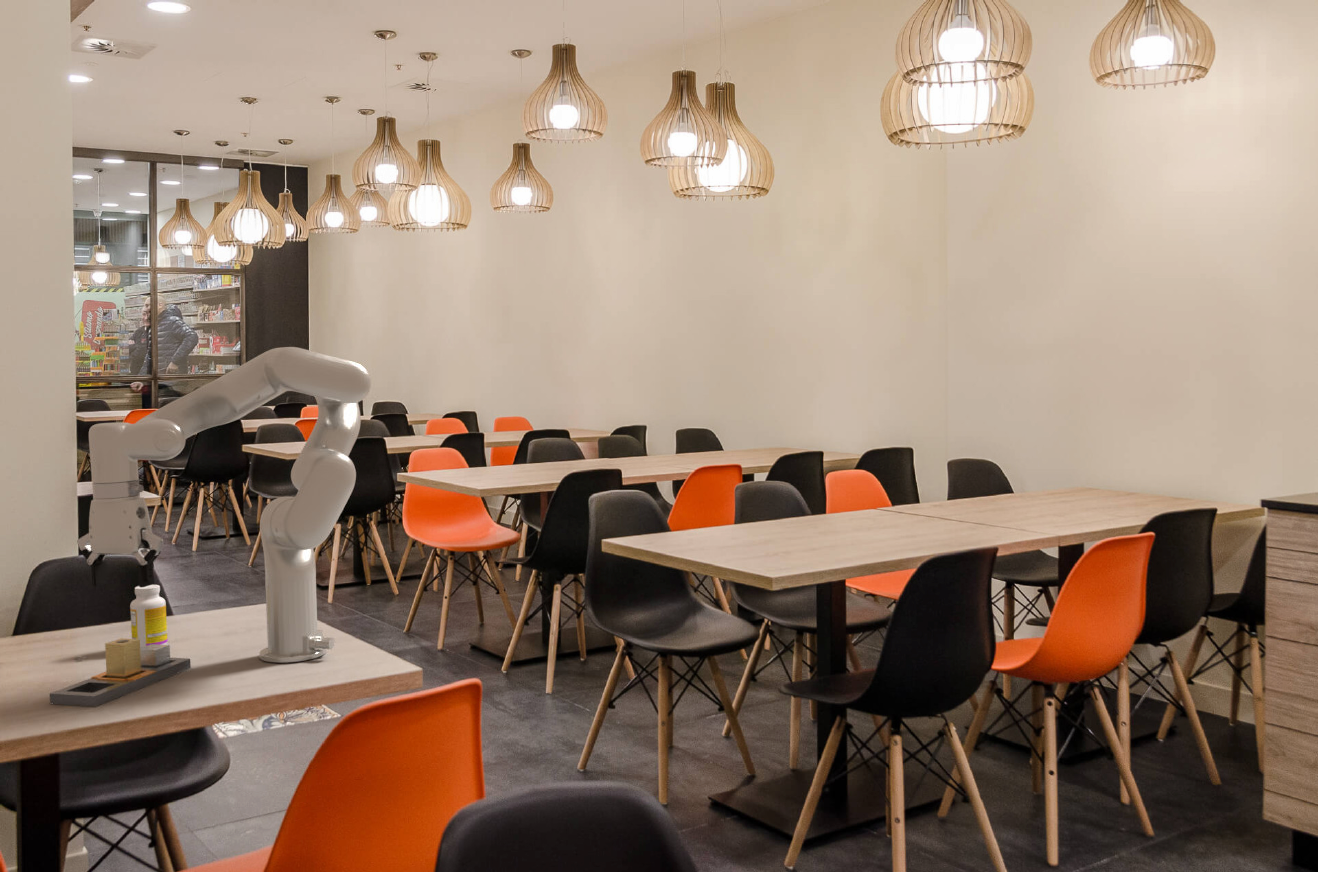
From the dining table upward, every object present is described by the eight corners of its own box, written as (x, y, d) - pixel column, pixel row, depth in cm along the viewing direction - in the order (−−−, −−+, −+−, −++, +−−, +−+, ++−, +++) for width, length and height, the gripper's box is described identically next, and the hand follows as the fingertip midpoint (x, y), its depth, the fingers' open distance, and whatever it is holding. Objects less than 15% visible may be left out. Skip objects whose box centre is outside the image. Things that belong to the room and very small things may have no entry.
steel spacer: (170, 671, 207) (169, 645, 207) (156, 676, 203) (155, 650, 203) (152, 669, 208) (151, 644, 208) (137, 675, 204) (136, 649, 204)
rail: (190, 667, 209) (190, 657, 209) (94, 706, 185) (94, 694, 185) (150, 665, 211) (149, 655, 211) (50, 703, 187) (49, 692, 187)
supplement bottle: (174, 644, 228) (171, 583, 227) (156, 652, 221) (154, 589, 221) (143, 644, 229) (141, 583, 228) (125, 652, 222) (122, 589, 221)
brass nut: (141, 682, 199) (139, 639, 199) (125, 688, 195) (123, 644, 195) (123, 681, 200) (121, 638, 200) (107, 687, 196) (105, 643, 196)
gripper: (172, 488, 198) (178, 581, 199) (90, 489, 202) (97, 580, 203) (143, 493, 190) (150, 590, 192) (59, 494, 194) (67, 589, 196)
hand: (123, 585), depth 197 cm, fingers open, 9 cm apart
